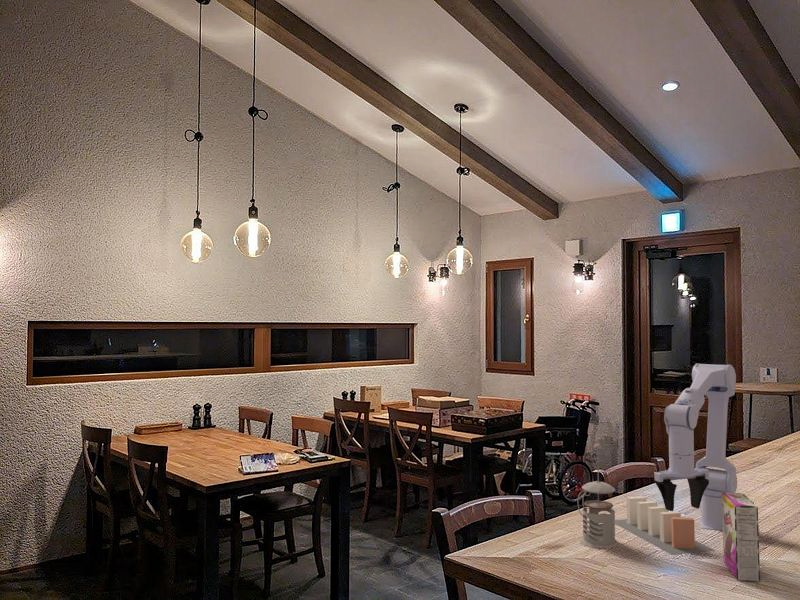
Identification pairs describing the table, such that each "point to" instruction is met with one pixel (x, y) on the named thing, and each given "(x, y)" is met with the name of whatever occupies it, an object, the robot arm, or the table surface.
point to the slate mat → (656, 541)
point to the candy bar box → (741, 536)
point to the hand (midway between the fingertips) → (682, 508)
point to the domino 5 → (683, 532)
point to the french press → (598, 516)
